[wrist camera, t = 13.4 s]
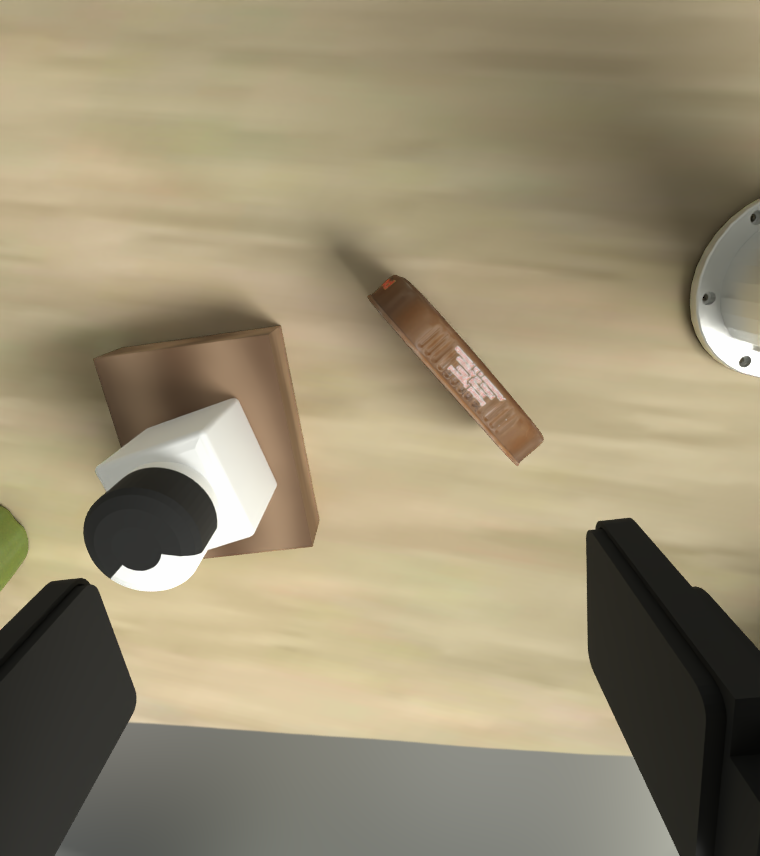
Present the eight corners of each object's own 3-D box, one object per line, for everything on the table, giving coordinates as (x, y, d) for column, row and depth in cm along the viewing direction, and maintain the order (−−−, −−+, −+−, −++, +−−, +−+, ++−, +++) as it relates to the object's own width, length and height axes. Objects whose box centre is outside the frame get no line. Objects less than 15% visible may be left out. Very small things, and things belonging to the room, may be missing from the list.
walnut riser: (280, 325, 38) (268, 334, 35) (319, 520, 44) (312, 546, 40) (121, 347, 39) (93, 358, 35) (178, 536, 44) (158, 563, 41)
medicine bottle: (145, 428, 37) (36, 509, 26) (237, 395, 36) (167, 464, 25) (190, 514, 39) (108, 624, 28) (279, 485, 38) (232, 587, 27)
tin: (366, 294, 38) (359, 307, 30) (399, 263, 37) (401, 268, 29) (498, 442, 41) (523, 490, 33) (531, 416, 40) (565, 458, 32)
